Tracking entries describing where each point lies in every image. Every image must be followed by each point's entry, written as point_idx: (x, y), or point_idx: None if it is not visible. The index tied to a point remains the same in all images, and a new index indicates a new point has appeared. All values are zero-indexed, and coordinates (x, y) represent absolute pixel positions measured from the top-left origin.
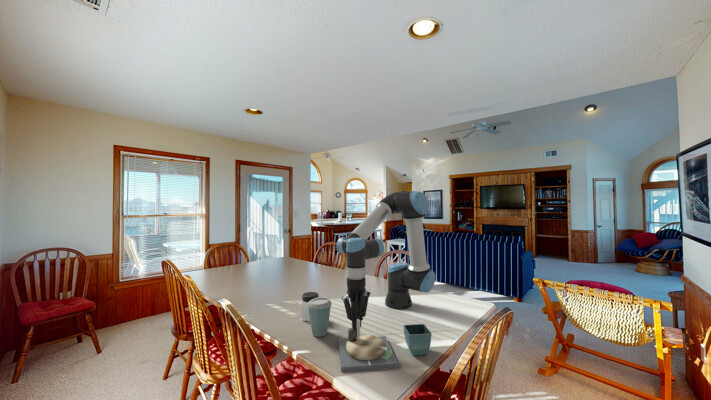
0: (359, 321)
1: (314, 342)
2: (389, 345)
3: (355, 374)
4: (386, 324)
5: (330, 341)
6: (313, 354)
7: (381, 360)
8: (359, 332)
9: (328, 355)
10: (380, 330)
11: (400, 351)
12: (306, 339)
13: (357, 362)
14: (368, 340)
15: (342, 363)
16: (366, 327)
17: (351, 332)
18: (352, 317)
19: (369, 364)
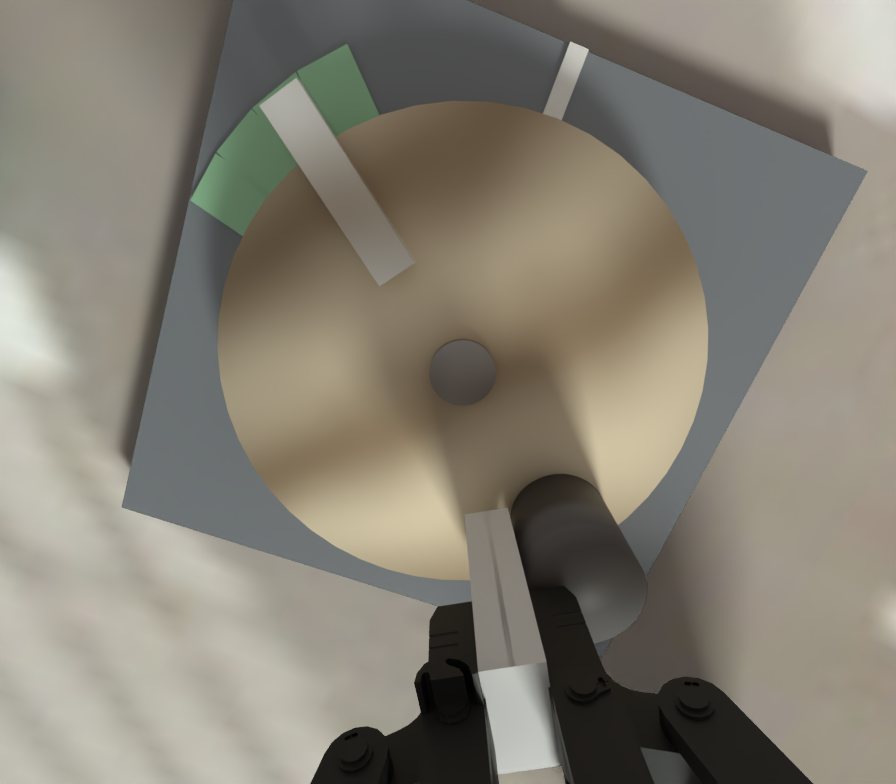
0: (491, 655)
1: (777, 713)
2: (169, 317)
3: (742, 57)
4: (8, 726)
5: (647, 674)
6: (888, 551)
7: (406, 73)
8: (479, 542)
9: (785, 480)
10: (117, 656)
11: (93, 220)
12: (810, 778)
13: (669, 170)
14: (390, 428)
15: (816, 229)
16: (225, 752)
17: (624, 546)
18: (702, 740)
19: (582, 50)
